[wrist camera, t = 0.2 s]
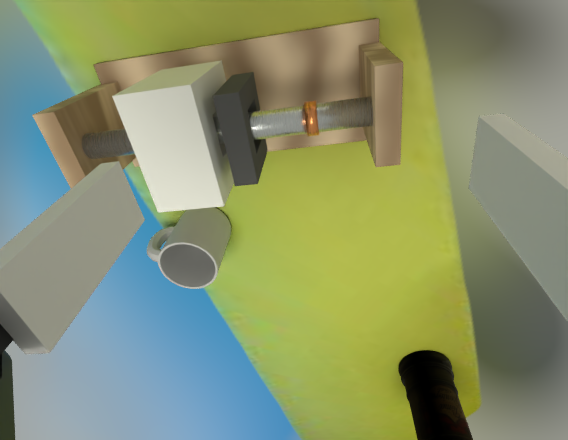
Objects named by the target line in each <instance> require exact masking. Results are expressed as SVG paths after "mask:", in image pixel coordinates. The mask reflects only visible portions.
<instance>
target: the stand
mask: <svg viewBox="0 0 568 440" xmlns="http://www.w3.org/2000/svg"><path fill="white" fill-rule="evenodd" d="M221 60H222V64H223V69H224V73H225V78H226V81H227V80H228V79H229V78H230V77H231V76H232V75H235V74H242V73H249V72H254V78H255V83H256V89H257V94H258V100H259V105H260V111H262V110H270V109H277V108H285V107H293V106H300V105H304V102H307V101H315V100H316V102H317V103H323V102H331V101H339V100H346V99H354V98H361V97H369V96H371V99H372V106H373V125H372V126H367V127H358V128H350V129H341V130H333V131H325V132H319V135H316V136H307V134H300V135H291V136H283V137H274V138H266V143H267V149H268V150H267V151H276V150H285V149H294V148H302V147H311V146H320V145H329V144H338V143H346V142H355V141H364V140H367V142H368V145H369V148H370V151H371V154H372V157H373V160H374V163H375V166H376V167H381V166H391V165H400V158H401V122H402V85H403V62H402V61H401V60H400V59H399V58H398V57H396V56H395V55H394V54H393V53H392V52H391V51H389V50H388V49H387V48H386V47H385V46H383V45H382V44H381V43H380V42H379V19H378V18H375V19H369V20H362V21H356V22H350V23H344V24H338V25H331V26H325V27H319V28H313V29H307V30H300V31H294V32H288V33H282V34H275V35H269V36H263V37H257V38H251V39H244V40H238V41H232V42H226V43H220V44H213V45H207V46H201V47H195V48H188V49H182V50H176V51H170V52H164V53H157V54H151V55H145V56H139V57H133V58H126V59H120V60H114V61H108V62H101V63H97V64H94V67H95V70H96V72H97V75H98V77H99V80H100V82H101V84H100V85H98V86H96V87H93V88H91V89H89V90H87V91H84V92H82V93H80V94H78V95H76V96H73V97H71V98H69V99H67V100H65V101H62V102H60V103H58V104H56V105H53V106H51V107H49V108H47V109H45V110H43V111H40V112H38V113H36V114H34V115H33V117H34V119H35V121H36V123H37V125H38V127H39V129H40V131H41V132H42V134H43V136H44V138H45V140H46V142H47V144H48V146H49V148H50V150H51V152H52V153H53V155H54V157H55V159H56V161H57V163H58V165H59V167H60V168H61V170H62V172H63V174H64V176H65V178H66V180H67V182H68V184H69V186H70V188H73V187H74V186H75V185H76V184H77V183H78V182H80V181H81V180H82V179H83V178H84V177H86V176H87V175H88V174H89V173H90V172H91V171H93V170H94V169H95V168H96V167H97V166H98V165H100V164H101V163H109V162H117V161H119V163H120V165H121V167H122V170H123V169H124V168H125V167H126V166H127V165H128V164H129V163H131V162H132V161H133V164H134V166H135V167H136V166H140V165H139V163H138V160H137V158H136V155H135V154H132V155H124V156H115V157H107V158H99V159H90V158H89V157H87V156H86V154H85V153H84V151H83V148H82V137H83V136H84V135H85V134H87V133H94V132H102V131H109V130H117V129H125V127H124V125H123V122H122V120H121V117H120V115H119V112H118V110H117V107H116V105H115V102H114V100H113V97H112V96H113V95H115V94H117V93H119V92H121V91H123V90H124V89H126V88H128V87H130V86H132V85H134V84H136V83H137V82H139V81H141V80H143V79H145V78H147V77H149V76H151V75H152V74H154V73H156V72H158V71H160V70H162V69H169V68H175V67H182V66H188V65H195V64H201V63H208V62H214V61H221Z"/></svg>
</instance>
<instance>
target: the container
mask: <svg viewBox="0 0 568 440" xmlns="http://www.w3.org/2000/svg"><path fill="white" fill-rule="evenodd" d="M399 374H400V376H401V381H402V383H403V385H404V386H405V388H406V393H407V399H408V401H409V403H410V407H411V412H412V416H413V421H414V425H415V430H416V434H417V439H418V440H473V438H472V435H471V432H470V430H469V426H468V423H467V421H466V418H465V415H464V413H463V410H462V407H461V404H460V401H459V398H458V391H457V388H456V387H455V384H454V381H453V380H454V374H453V371H452V366H451V363H450V361H449V360H448V359H447V357H445V356H444V355H443V354H441V353H438V352H434V351H418V352H414V353H411V354H409V355H407V356H406V357H404V358H403V359H402V360H401V362H400V364H399Z"/></svg>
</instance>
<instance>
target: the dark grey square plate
mask: <svg viewBox="0 0 568 440" xmlns="http://www.w3.org/2000/svg"><path fill="white" fill-rule="evenodd" d="M213 100H214V104H215V108H216V112H217V116H218V120H219V124H220V128H221V132H222V136H223V140H224V144H225V148H226V152H227V156H228V160H229V164H230V168H231V172H232V176H233V180H234V184H235V186H241V185H250V184H258V181H259V178H260V174H261V171H262V167H263V164H264V161H265V157H266V154H267V150H268V149H267V143H266V139H258V140H254V139H253V134H252V129H251V124H250V119H249V114H248V112H255V111H260V105H259V100H258V94H257V89H256V83H255V78H254V72H249V73H242V74H235V75H232V76H231V77H230V78H229V79H228V80H227V81H226V82H225V83H224V84H223V85H222V86H221V87H220V88H219V89H218V91H217V92H216V93H215V94H214V95H213Z"/></svg>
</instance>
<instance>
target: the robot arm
mask: <svg viewBox="0 0 568 440" xmlns="http://www.w3.org/2000/svg"><path fill="white" fill-rule="evenodd" d="M469 190H470V191H471V192H472V194H473V195H474V196H475V198H476V199H477V200H478V202H479V203H480V204H481V206H482V207H483V209H484V210H485V211H486V212H487V214H488V215H489V217H490V218H491V219H492V221H493V222H494V223H495V225H496V226H497V227H498V229H499V230H500V231H501V233H502V234H503V235H504V237H505V238H506V239H507V241H508V242H509V243H510V245H511V246H512V247H513V249H514V250H515V252H516V253H517V254H518V256H519V257H520V258H521V259H522V261H523V262H524V264H525V265H526V266H527V268H528V269H529V270H530V272H531V273H532V274H533V276H534V277H535V278H536V280H537V281H538V283H539V284H540V285H541V287H542V288H543V289H544V290H545V292H546V293H547V295H548V296H549V297H550V299H551V300H552V301H553V303H554V304H555V305H556V306H557V308H558V309H559V311H560V312H561V313H562V314H563V316H564V317H565V319H566V320H567V321H568V158H567V157H565V156H564V155H562V154H561V153H559V152H558V151H557V150H555V149H554V148H552V147H551V146H549V145H548V144H547V143H545V142H543V141H542V140H541V139H539V138H538V137H537V136H535V135H534V134H532V133H531V132H529V131H528V130H527V129H525V128H524V127H522V126H521V125H519V124H518V123H517V122H515V121H514V120H512V119H511V118H509V117H508V116H507V115H505V114H504V113H500V114H493V115H484V116H479V118H478V124H477V131H476V138H475V146H474V153H473V160H472V167H471V174H470V181H469ZM143 222H144V217H143V215H142V212H141V210H140V208H139V206H138V203H137V201H136V199H135V197H134V194H133V192H132V190H131V188H130V185H129V183H128V181H127V179H126V176H125V174H124V172H123V170H122V167H121V165H120V163H119V161H117V162H109V163H101V164H100V165H98V166H97V167H96V168H95V169H94V170H93V171H91V172H90V173H89V174H88V175H87V176H86V177H84V178H83V179H82V180H81V181H80V182H78V183H77V184H76V185H75V186H74V187H73V188H71V189H70V190H69V191H68V192H67V193H66V194H64V195H63V196H62V197H61V198H60V199H58V200H57V201H56V202H55V203H54V204H53V205H51V206H50V207H49V208H48V209H47V210H46V211H44V212H43V213H42V214H41V215H40V216H39V217H37V218H36V219H35V220H34V221H33V222H31V224H29V225H28V226H27V227H26V228H24V229H23V230H22V231H21V232H20V233H18V235H16V236H15V237H14V238H13V239H11V240H10V241H9V242H8V243H7V244H6V245H4V246H3V247H2V248H1V249H0V440H15V424H14V401H13V378H12V360H11V358H10V356H9V355H8V353H7V352H6V351H5V349H6V348H7V347H8V345H9V344H10V343H11V342H12V341H14V342H15V343H16V344H17V345H18V346H19V348H21V350H22V351H23V352H24V353H25V354H43V353H50V352H51V351H52V349H53V348H54V347H55V345H56V344H57V342H58V341H59V340H60V338H61V337H62V335H63V334H64V333H65V331H66V330H67V328H68V327H69V326H70V324H71V323H72V321H73V320H74V319H75V317H76V316H77V314H78V313H79V312H80V310H81V309H82V307H83V306H84V305H85V303H86V302H87V300H88V299H89V298H90V296H91V295H92V293H93V292H94V290H95V289H96V288H97V286H98V285H99V284H100V282H101V281H102V279H103V278H104V277H105V275H106V274H107V272H108V271H109V270H110V268H111V266H112V265H113V264H114V262H115V261H116V260H117V258H118V257H119V255H120V254H121V253H122V251H123V250H124V248H125V247H126V246H127V244H128V243H129V241H130V240H131V239H132V237H133V236H134V234H135V233H136V231H137V230H138V229H139V227H140V226H141V224H142V223H143Z"/></svg>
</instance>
